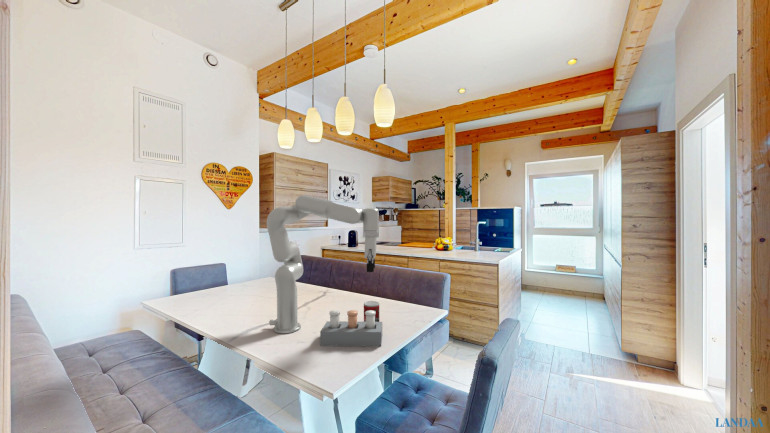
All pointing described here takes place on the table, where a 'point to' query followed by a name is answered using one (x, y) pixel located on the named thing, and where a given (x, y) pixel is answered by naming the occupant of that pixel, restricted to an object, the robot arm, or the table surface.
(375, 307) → the canned food
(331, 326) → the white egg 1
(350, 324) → the plug terracotta
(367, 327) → the grey plug
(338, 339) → the socket board
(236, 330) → the table surface
